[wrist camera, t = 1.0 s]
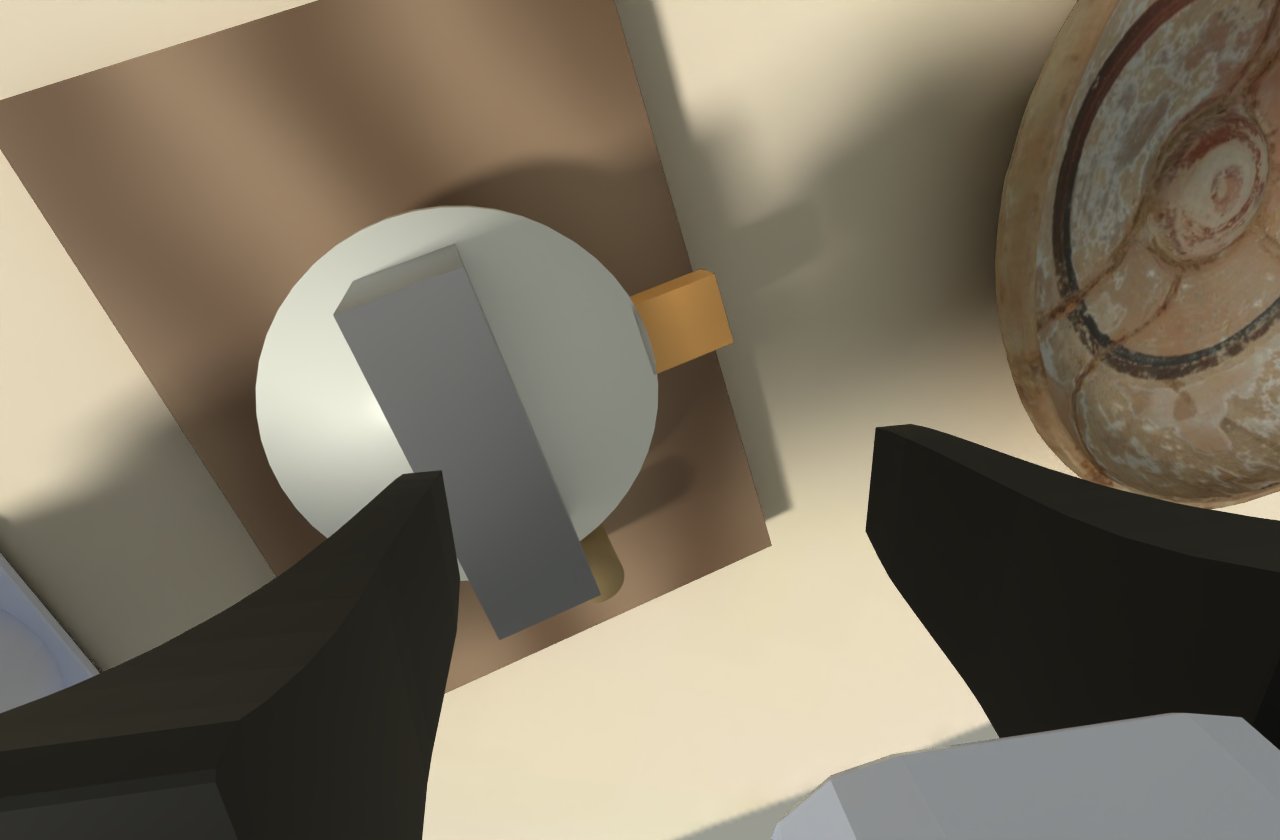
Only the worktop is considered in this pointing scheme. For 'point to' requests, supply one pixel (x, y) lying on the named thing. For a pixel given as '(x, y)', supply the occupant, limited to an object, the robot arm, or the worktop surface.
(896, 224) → the worktop surface
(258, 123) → the walnut base
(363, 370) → the flange disc
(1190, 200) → the ceramic bowl
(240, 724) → the robot arm
